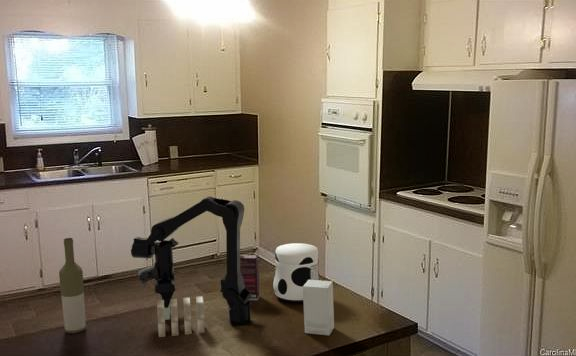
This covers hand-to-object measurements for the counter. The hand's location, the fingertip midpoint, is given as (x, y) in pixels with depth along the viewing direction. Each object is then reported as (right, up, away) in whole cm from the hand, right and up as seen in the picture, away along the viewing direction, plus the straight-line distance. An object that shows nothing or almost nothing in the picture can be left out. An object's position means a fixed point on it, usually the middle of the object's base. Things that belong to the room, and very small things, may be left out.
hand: (166, 303), depth 187 cm
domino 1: (+1, -7, -12) cm, 14 cm away
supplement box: (+26, -2, +16) cm, 31 cm away
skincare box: (+50, -6, -12) cm, 52 cm away
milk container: (+44, -1, +17) cm, 47 cm away
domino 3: (+5, -6, -11) cm, 14 cm away
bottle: (-27, -7, -9) cm, 29 cm away
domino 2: (0, -5, +1) cm, 5 cm away
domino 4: (+9, -6, -11) cm, 15 cm away
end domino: (+13, -6, -10) cm, 17 cm away
